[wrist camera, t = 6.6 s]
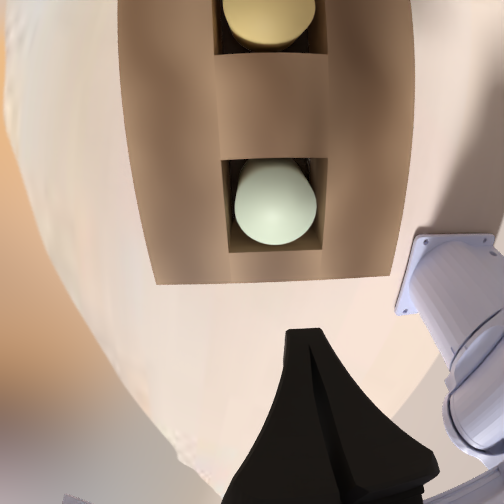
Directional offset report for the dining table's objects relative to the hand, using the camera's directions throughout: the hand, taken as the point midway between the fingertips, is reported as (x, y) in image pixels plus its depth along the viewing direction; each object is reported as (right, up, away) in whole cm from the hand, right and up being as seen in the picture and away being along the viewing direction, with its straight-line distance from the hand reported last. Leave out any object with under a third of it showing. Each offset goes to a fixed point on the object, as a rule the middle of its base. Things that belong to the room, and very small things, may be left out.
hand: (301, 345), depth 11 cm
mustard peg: (-1, +17, +1) cm, 17 cm away
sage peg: (-1, +8, +7) cm, 10 cm away
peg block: (-1, +12, +4) cm, 13 cm away
